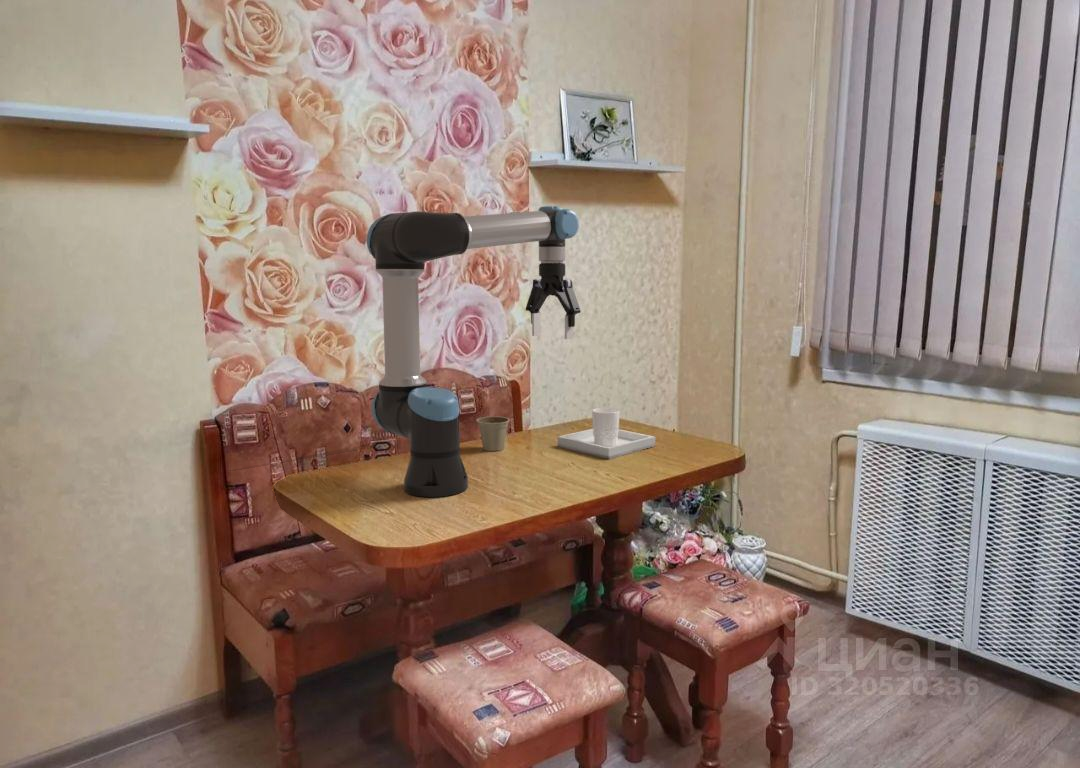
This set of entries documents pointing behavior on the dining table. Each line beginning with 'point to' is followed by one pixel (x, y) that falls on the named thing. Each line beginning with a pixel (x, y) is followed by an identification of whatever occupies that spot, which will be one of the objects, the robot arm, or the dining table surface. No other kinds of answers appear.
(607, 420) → the white cup
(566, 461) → the dining table surface
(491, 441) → the flower pot
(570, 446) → the tray
